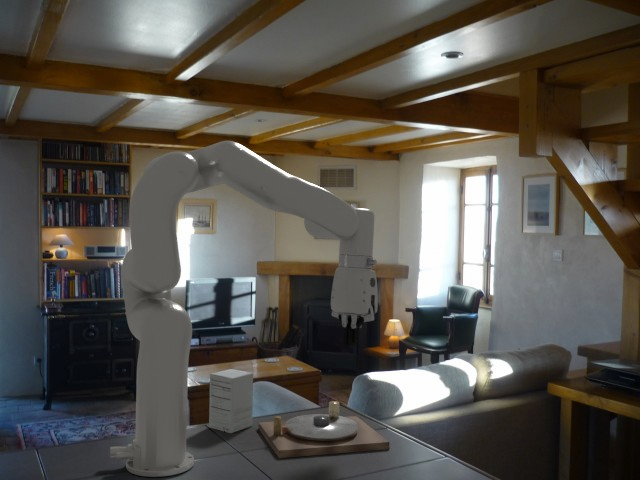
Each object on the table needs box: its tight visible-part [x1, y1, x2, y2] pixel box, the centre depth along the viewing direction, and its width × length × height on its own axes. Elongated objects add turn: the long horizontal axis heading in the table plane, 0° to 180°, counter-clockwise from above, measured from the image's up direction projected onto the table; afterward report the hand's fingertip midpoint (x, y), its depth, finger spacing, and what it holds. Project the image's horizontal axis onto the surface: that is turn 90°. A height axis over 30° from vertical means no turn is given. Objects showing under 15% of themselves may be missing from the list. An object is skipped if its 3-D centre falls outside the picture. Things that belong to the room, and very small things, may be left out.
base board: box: [258, 415, 390, 459], centre depth 140 cm, size 24×20×5 cm
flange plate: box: [281, 400, 358, 441], centre depth 140 cm, size 16×17×5 cm
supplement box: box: [208, 368, 254, 434], centre depth 148 cm, size 7×7×13 cm
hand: (351, 345), depth 142 cm, fingers closed
